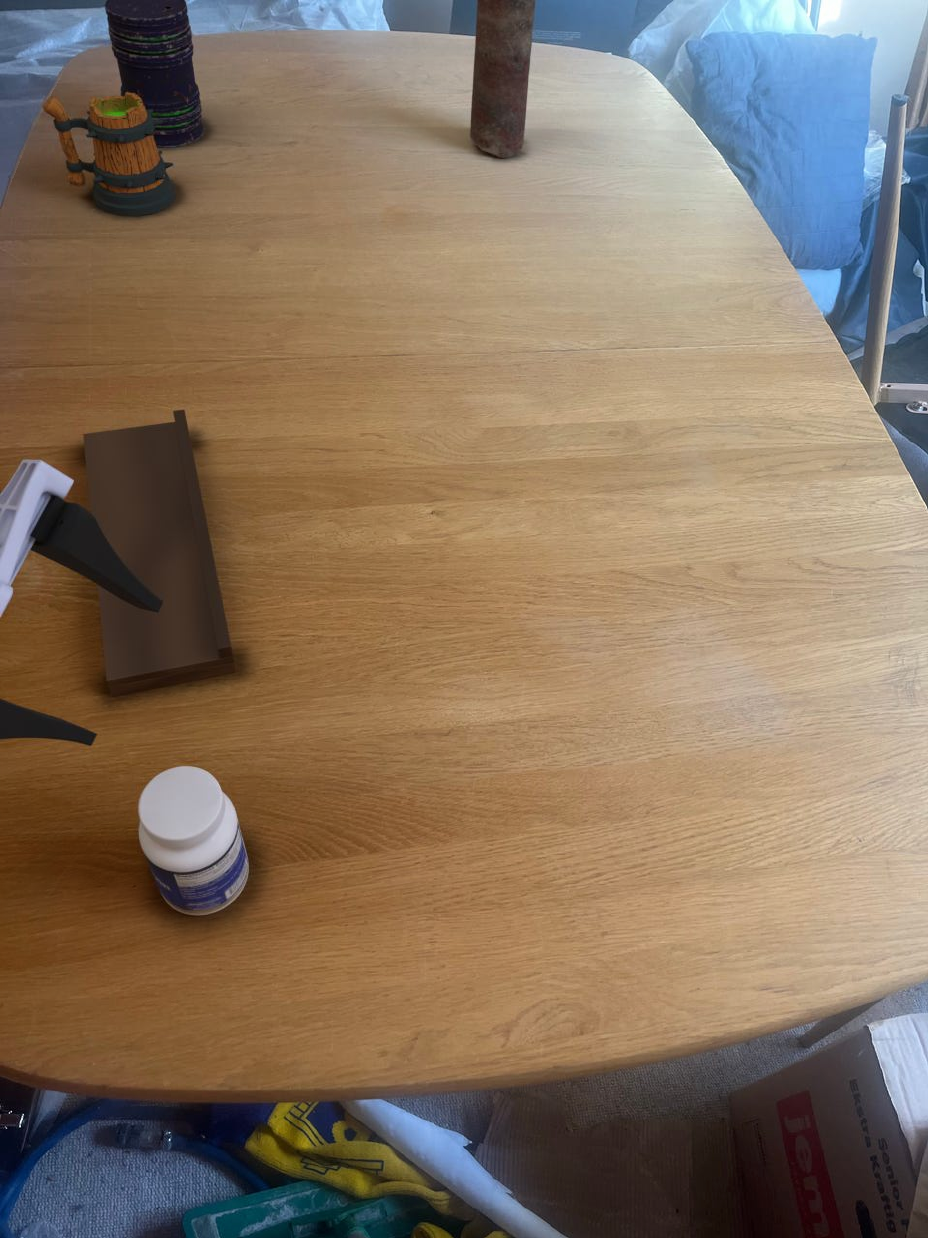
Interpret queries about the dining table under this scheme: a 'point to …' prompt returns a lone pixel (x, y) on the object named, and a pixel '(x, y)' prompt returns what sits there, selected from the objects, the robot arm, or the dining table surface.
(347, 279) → the dining table surface
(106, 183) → the mug
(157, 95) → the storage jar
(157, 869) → the pill bottle
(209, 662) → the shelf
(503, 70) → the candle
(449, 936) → the dining table surface
